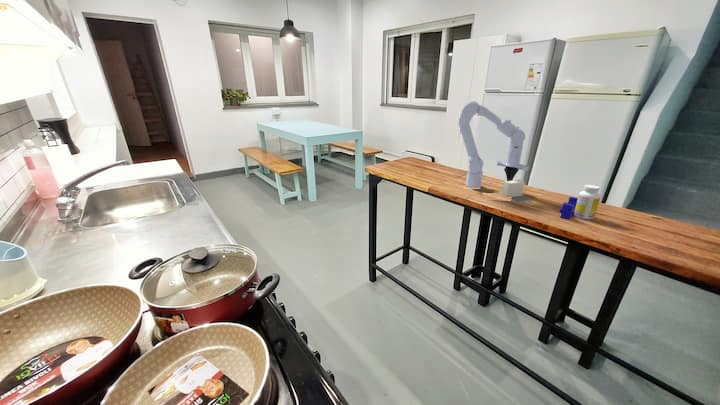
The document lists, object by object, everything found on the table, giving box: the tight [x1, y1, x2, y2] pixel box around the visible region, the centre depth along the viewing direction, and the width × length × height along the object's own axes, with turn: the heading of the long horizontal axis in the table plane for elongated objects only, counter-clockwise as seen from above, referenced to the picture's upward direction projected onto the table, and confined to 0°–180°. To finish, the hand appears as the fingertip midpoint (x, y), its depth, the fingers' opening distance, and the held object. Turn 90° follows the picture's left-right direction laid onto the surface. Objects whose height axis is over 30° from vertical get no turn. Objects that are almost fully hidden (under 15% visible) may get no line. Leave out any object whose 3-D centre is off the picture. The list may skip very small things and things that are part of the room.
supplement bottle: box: [573, 184, 601, 220], centre depth 111 cm, size 7×7×13 cm
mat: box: [509, 193, 533, 204], centre depth 135 cm, size 13×20×1 cm, turn 79°
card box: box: [501, 179, 526, 197], centre depth 135 cm, size 4×9×7 cm, turn 104°
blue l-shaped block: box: [559, 196, 578, 221], centre depth 115 cm, size 12×4×6 cm, turn 135°
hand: (509, 181), depth 141 cm, fingers closed
